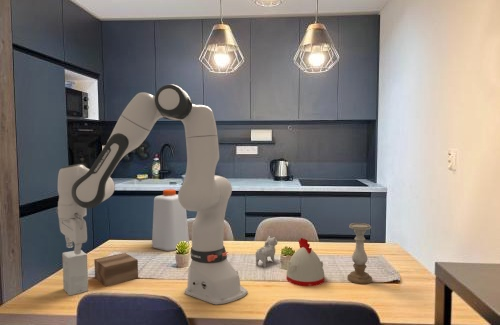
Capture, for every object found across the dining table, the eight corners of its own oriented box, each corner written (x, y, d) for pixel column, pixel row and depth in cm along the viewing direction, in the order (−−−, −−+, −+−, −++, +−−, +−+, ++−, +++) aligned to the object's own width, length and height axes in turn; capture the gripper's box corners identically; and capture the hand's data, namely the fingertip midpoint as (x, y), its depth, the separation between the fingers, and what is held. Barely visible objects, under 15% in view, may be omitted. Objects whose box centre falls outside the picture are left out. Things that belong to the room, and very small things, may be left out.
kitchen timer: (312, 270, 145) (311, 233, 144) (331, 282, 132) (331, 241, 131) (280, 275, 140) (280, 236, 139) (297, 288, 127) (297, 246, 126)
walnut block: (138, 278, 139) (137, 259, 138) (106, 286, 131) (105, 267, 131) (125, 269, 148) (125, 252, 148) (94, 277, 140) (94, 259, 140)
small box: (88, 291, 127) (87, 254, 126) (68, 296, 123) (67, 258, 122) (82, 284, 133) (80, 249, 133) (63, 288, 129) (61, 252, 129)
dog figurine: (280, 259, 159) (280, 235, 158) (264, 268, 148) (264, 242, 148) (270, 257, 162) (270, 233, 161) (253, 265, 151) (253, 240, 151)
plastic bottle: (192, 244, 183) (191, 189, 182) (170, 252, 171) (168, 192, 169) (171, 240, 192) (170, 187, 190) (148, 247, 179) (146, 190, 178)
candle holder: (342, 277, 137) (342, 223, 136) (361, 274, 140) (362, 221, 139) (357, 285, 129) (357, 228, 128) (377, 282, 132) (377, 226, 131)
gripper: (91, 214, 121) (92, 256, 122) (74, 206, 136) (74, 242, 137) (71, 217, 117) (72, 260, 118) (55, 208, 132) (56, 245, 133)
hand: (73, 250), depth 128 cm, fingers open, 8 cm apart
